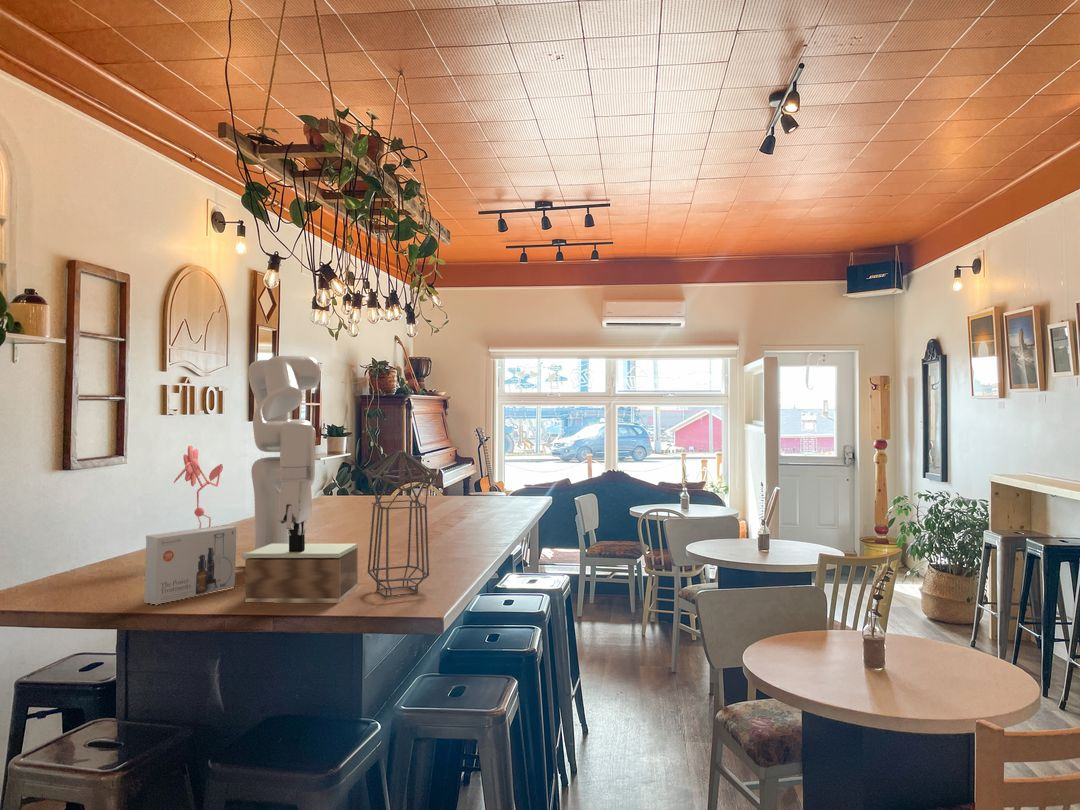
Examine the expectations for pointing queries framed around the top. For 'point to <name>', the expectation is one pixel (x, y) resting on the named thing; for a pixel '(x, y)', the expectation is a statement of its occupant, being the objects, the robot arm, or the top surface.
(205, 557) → the skincare box
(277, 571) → the walnut box
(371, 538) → the geometric lantern
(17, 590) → the top surface
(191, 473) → the figurine
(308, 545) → the lid
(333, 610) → the top surface
